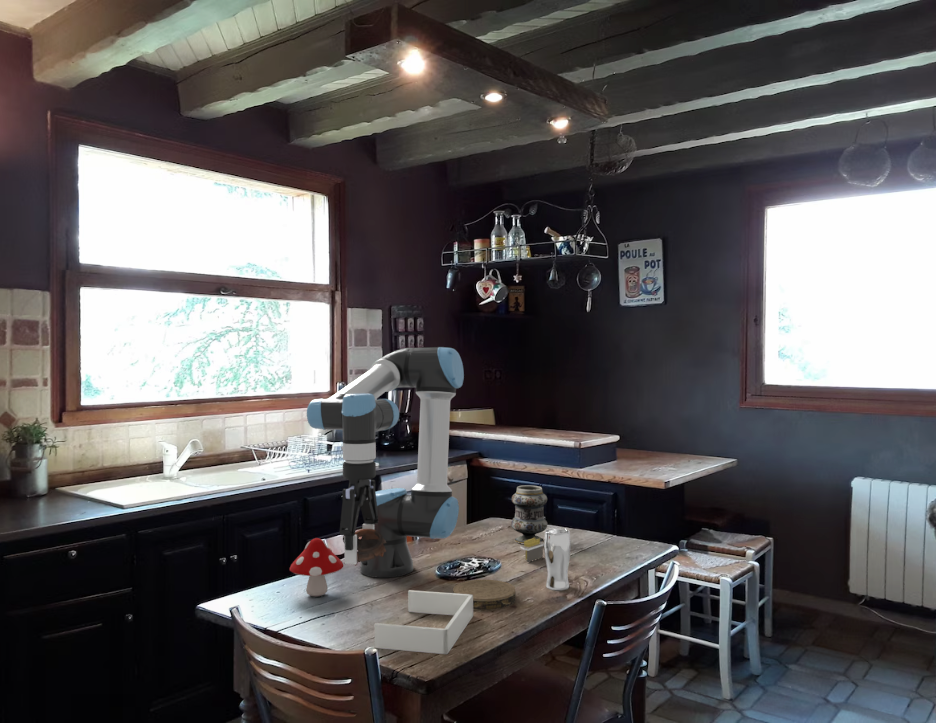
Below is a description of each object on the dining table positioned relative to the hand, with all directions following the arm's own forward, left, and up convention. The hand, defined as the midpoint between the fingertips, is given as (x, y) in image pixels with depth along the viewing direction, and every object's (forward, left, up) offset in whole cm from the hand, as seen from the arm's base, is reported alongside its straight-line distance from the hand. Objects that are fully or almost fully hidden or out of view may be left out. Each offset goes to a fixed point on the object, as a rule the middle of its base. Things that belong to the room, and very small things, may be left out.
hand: (360, 557), depth 172 cm
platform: (-63, +30, -16) cm, 72 cm away
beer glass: (-38, +41, -16) cm, 58 cm away
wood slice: (-24, +24, -16) cm, 37 cm away
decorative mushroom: (-18, -19, -16) cm, 31 cm away
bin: (0, +16, -16) cm, 22 cm away
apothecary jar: (-85, +26, -16) cm, 90 cm away
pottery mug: (0, +1, -1) cm, 1 cm away
